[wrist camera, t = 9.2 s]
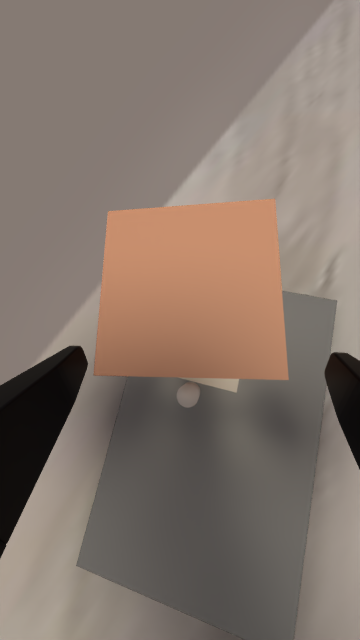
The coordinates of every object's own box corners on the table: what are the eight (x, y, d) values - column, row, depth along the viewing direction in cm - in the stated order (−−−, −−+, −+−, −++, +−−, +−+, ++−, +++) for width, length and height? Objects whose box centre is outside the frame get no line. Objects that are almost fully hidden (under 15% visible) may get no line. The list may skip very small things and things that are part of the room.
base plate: (284, 636, 14) (309, 726, 11) (85, 551, 17) (51, 602, 13) (328, 304, 18) (358, 289, 14) (160, 274, 20) (149, 254, 17)
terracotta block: (233, 370, 17) (288, 379, 5) (172, 369, 17) (93, 375, 6) (231, 310, 17) (275, 198, 6) (173, 311, 18) (108, 210, 6)
